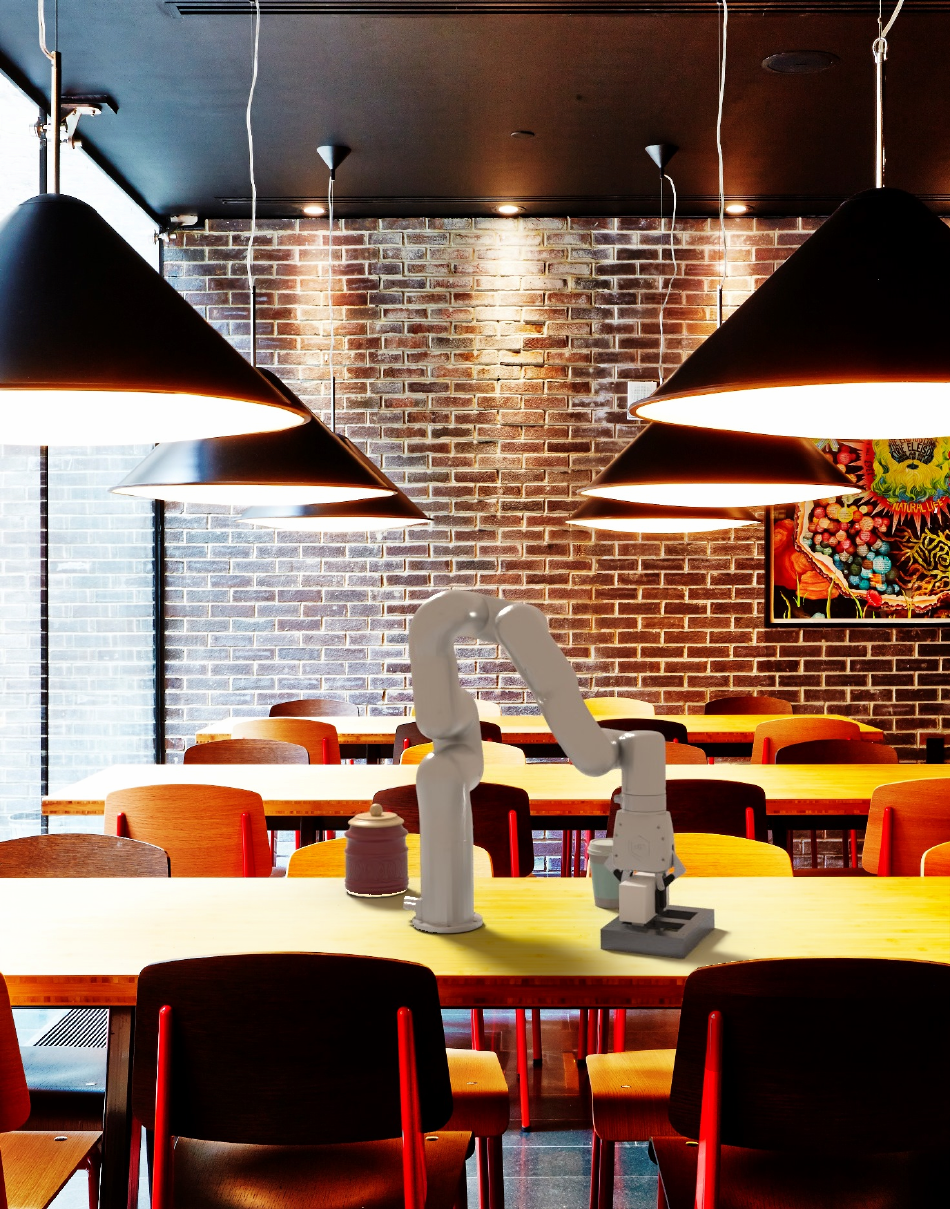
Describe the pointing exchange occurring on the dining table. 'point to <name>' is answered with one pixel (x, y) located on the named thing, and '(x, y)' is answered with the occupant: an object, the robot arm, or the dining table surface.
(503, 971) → the dining table surface
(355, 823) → the canister
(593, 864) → the coffee cup
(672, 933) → the grey frame with openings
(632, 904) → the white block orange button
